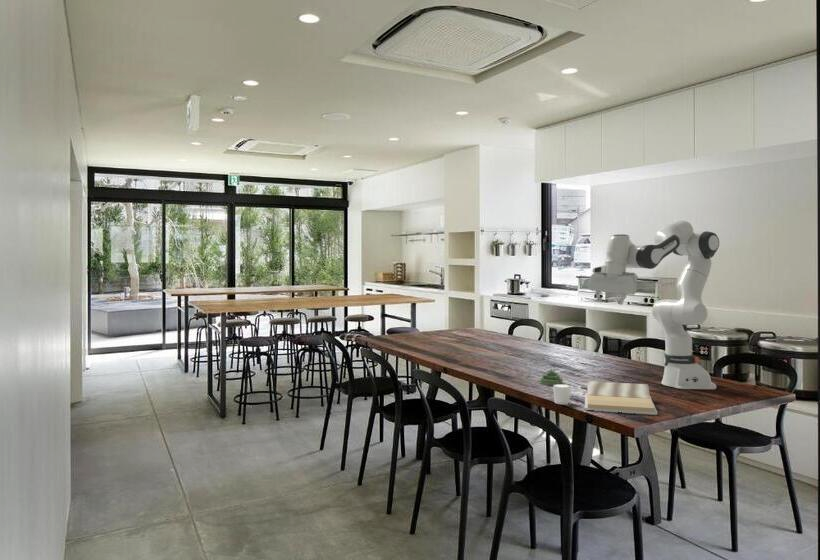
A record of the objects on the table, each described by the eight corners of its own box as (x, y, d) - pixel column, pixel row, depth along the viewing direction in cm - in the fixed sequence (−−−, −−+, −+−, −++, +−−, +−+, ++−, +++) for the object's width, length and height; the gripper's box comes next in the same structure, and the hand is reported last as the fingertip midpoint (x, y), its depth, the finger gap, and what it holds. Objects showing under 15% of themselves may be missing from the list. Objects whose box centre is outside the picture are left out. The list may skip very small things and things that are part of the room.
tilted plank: (647, 387, 239) (648, 384, 238) (650, 401, 231) (650, 398, 230) (587, 384, 246) (587, 381, 245) (587, 398, 238) (587, 395, 237)
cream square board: (650, 398, 240) (650, 392, 240) (657, 414, 215) (657, 408, 215) (585, 394, 248) (585, 389, 248) (584, 410, 223) (584, 403, 223)
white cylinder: (563, 405, 230) (563, 388, 230) (549, 402, 236) (549, 385, 235) (574, 403, 234) (574, 385, 234) (560, 399, 240) (560, 383, 239)
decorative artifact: (566, 383, 271) (546, 380, 277) (566, 368, 270) (546, 366, 277) (556, 387, 263) (536, 384, 270) (556, 372, 263) (536, 369, 269)
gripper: (641, 274, 240) (636, 307, 239) (596, 270, 255) (591, 301, 254) (634, 271, 236) (629, 304, 235) (589, 268, 250) (584, 299, 249)
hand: (609, 303), depth 244 cm, fingers open, 8 cm apart
